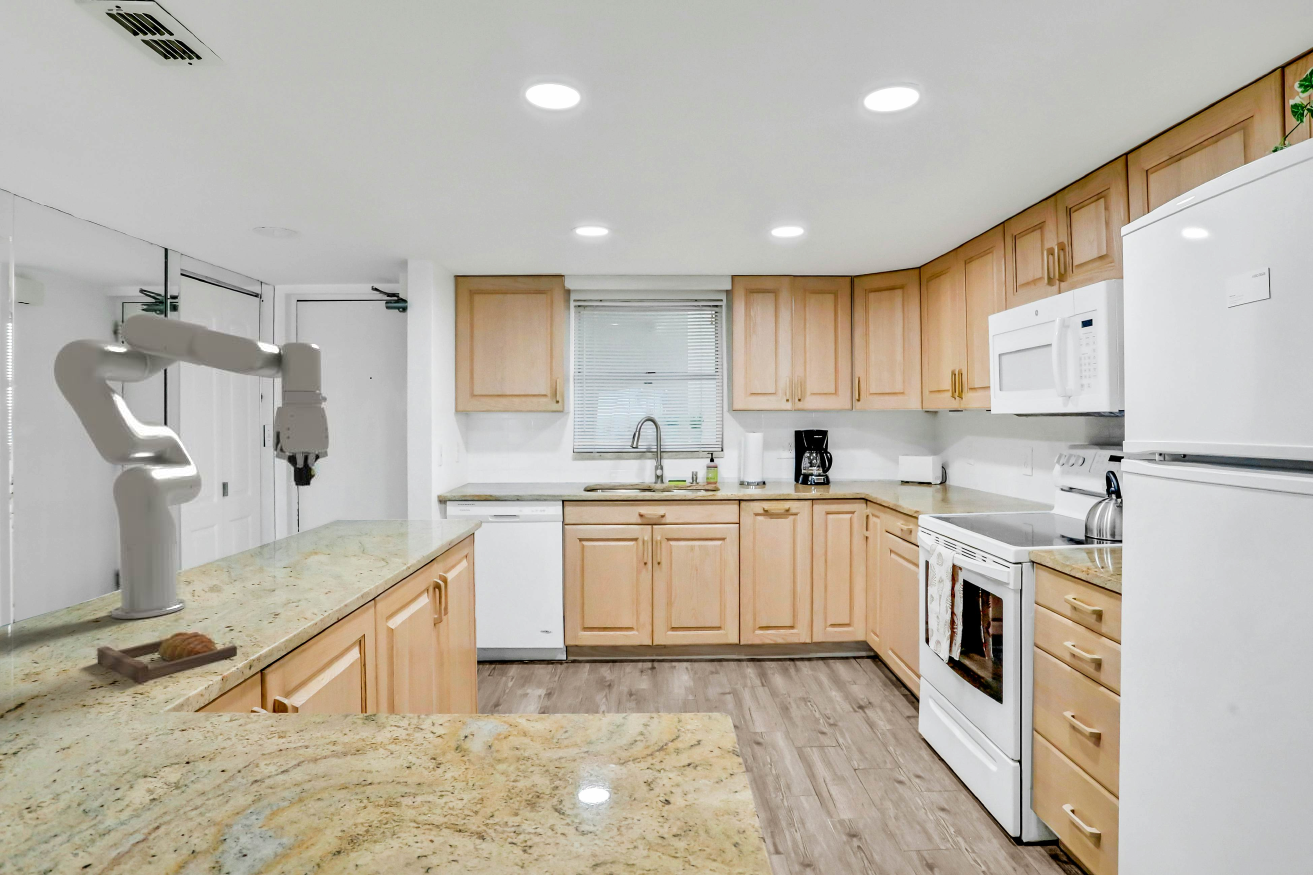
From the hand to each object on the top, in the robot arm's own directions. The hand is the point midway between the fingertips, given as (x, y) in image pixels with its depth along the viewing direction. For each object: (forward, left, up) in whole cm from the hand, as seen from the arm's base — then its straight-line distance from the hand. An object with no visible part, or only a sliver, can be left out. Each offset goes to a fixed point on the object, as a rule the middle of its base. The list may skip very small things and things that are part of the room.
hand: (302, 485), depth 139 cm
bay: (+10, -28, -27) cm, 40 cm away
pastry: (+11, -26, -28) cm, 39 cm away
